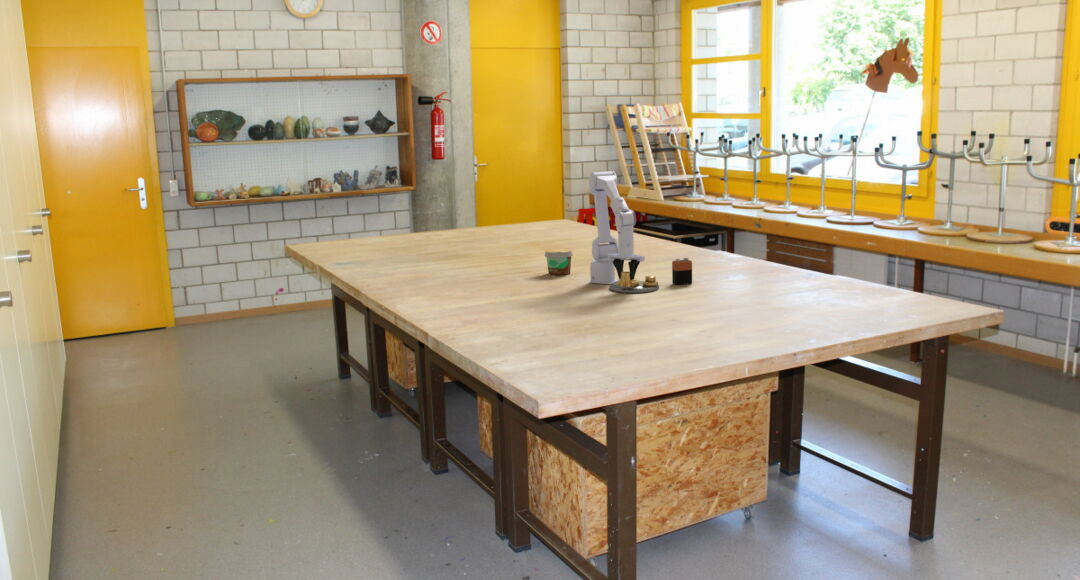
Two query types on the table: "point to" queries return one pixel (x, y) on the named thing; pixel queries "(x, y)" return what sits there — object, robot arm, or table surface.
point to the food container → (559, 262)
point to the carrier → (638, 286)
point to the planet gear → (625, 280)
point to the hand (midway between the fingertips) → (626, 279)
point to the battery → (682, 271)
